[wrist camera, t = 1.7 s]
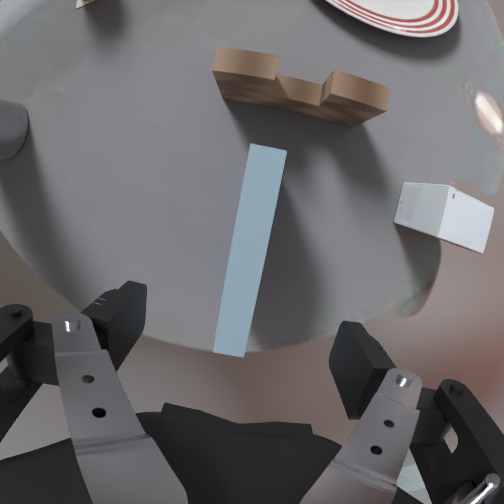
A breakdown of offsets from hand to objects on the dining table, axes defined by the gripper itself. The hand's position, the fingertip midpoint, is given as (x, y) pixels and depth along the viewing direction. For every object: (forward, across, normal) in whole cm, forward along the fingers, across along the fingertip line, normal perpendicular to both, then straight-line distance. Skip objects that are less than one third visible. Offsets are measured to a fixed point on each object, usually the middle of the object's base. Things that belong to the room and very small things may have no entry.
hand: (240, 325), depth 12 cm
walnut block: (+25, -2, -16) cm, 30 cm away
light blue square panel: (+25, 0, 0) cm, 25 cm away
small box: (+25, -22, -7) cm, 34 cm away
